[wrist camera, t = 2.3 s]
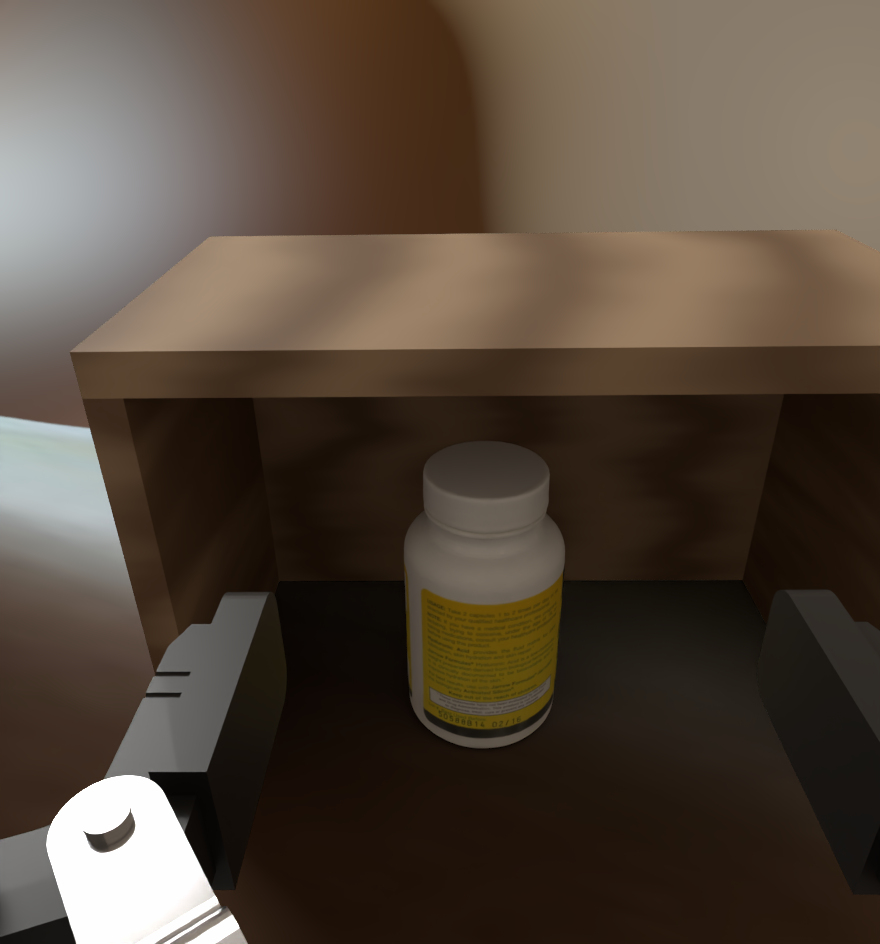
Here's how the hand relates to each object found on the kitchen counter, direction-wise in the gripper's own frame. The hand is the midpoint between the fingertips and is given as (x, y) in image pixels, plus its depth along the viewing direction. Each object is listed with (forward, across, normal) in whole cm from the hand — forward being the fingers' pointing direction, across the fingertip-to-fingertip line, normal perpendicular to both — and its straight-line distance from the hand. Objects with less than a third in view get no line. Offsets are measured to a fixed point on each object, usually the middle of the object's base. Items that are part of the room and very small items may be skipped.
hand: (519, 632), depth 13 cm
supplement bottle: (+12, 0, +13) cm, 17 cm away
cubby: (+14, -1, +13) cm, 19 cm away
